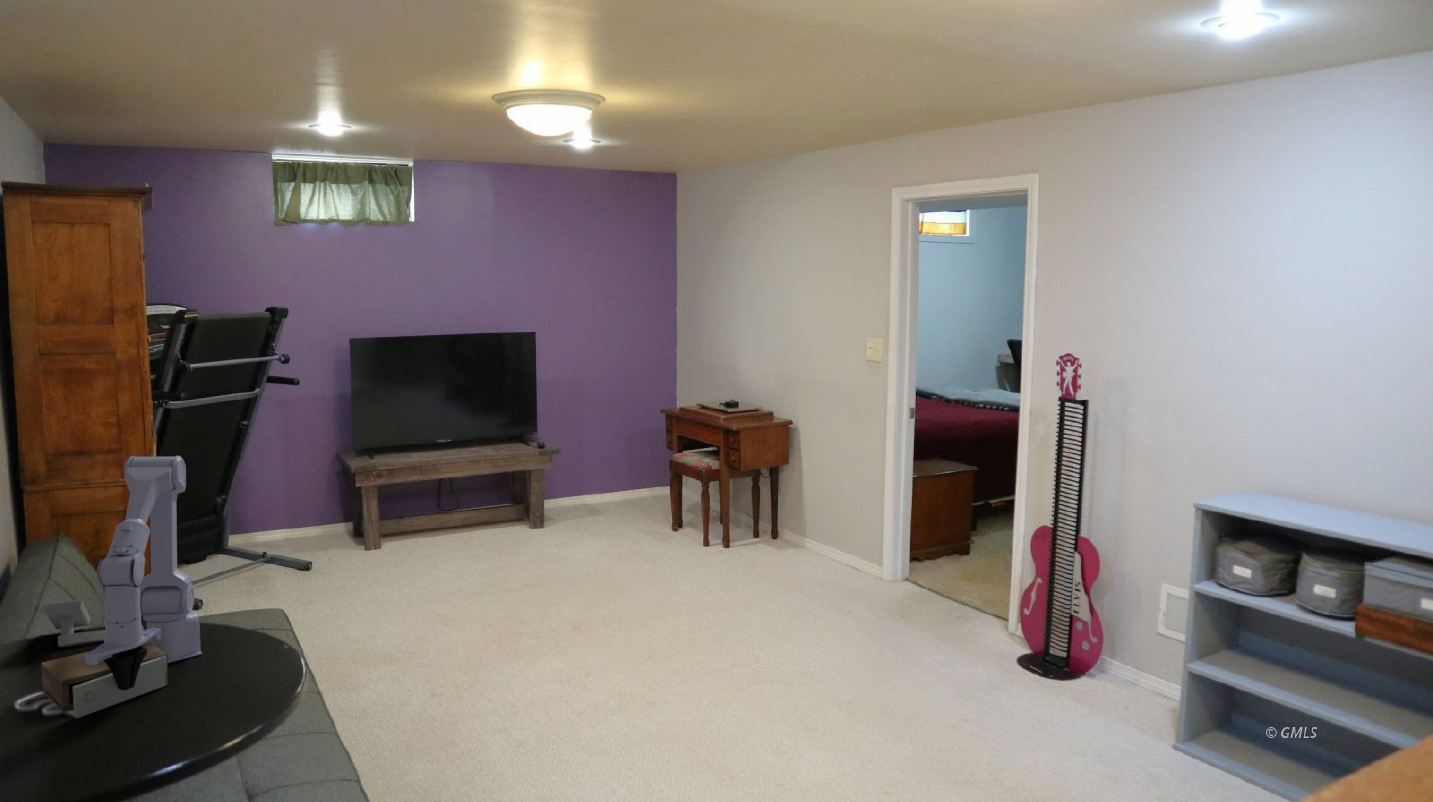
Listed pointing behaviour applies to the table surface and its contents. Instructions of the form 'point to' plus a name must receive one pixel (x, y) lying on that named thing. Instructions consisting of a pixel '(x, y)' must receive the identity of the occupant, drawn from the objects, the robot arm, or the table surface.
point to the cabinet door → (107, 692)
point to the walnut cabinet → (79, 675)
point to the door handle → (72, 622)
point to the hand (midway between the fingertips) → (126, 687)
